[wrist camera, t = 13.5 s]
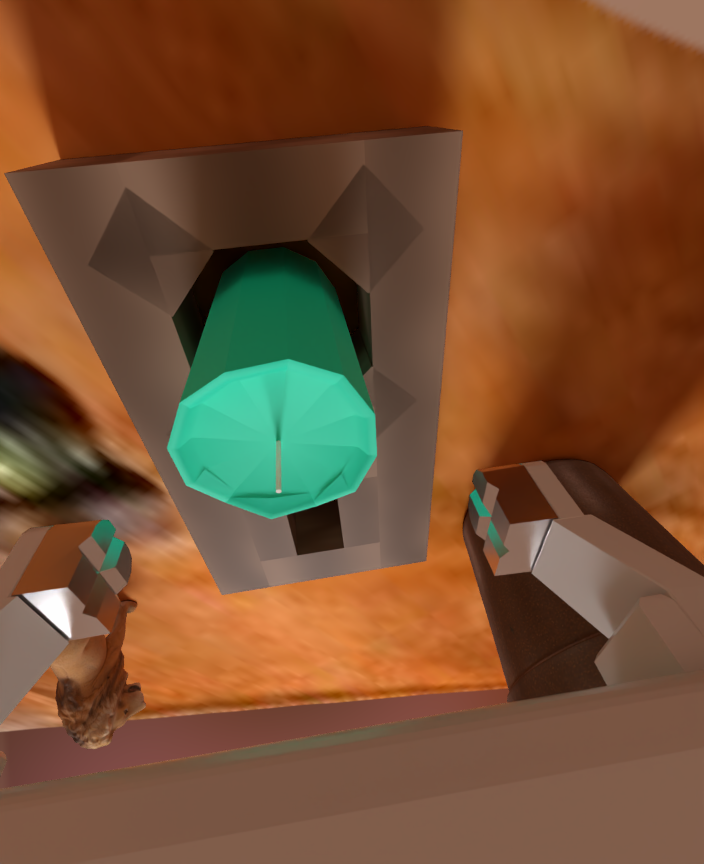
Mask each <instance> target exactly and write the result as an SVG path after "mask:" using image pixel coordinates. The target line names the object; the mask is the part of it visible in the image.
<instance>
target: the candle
mask: <svg viewBox="0 0 704 864" xmlns="http://www.w3.org/2000/svg"><path fill="white" fill-rule="evenodd" d="M167 450H168V452H169V454H170V456H171V457H172V459H173V461H174V463H175V465H176V467H177V469H178V471H179V473H180V475H181V477H182V479H183V481H184V483H185V484H186V486H188V487H191V488H193V489H195V490H197V491H200V492H202V493H204V494H207V495H209V496H211V497H213V498H216V499H218V500H220V501H223V502H225V503H228V504H230V505H233V506H236V507H239V508H241V509H244V510H247V511H250V512H252V513H255V514H258V515H261V516H263V517H266V518H269V519H274V518H278V517H281V516H285V515H288V514H292V513H295V512H298V511H302V510H305V509H309V508H312V507H316V506H319V505H321V504H324V503H327V502H329V501H332V500H335V499H337V498H340V497H343V496H345V495H348V494H351V493H353V492H356V490H357V488H358V487H359V485H360V483H361V482H362V480H363V478H364V477H365V475H366V473H367V472H368V470H369V468H370V467H371V465H372V463H373V462H374V460H375V458H376V457H377V443H376V421H375V413H374V409H373V406H372V403H371V400H370V397H369V394H368V390H367V387H366V384H365V381H364V378H363V375H362V371H361V368H360V365H359V362H358V359H357V356H356V352H355V349H354V346H353V343H352V340H351V337H350V333H349V330H348V327H347V324H346V321H345V318H344V314H343V311H342V308H341V305H340V302H339V299H338V295H337V292H336V289H335V287H334V286H333V285H332V283H331V282H330V281H329V279H328V278H327V276H326V275H325V274H324V272H323V271H322V269H321V268H320V267H319V265H318V264H317V262H316V261H314V260H311V259H309V258H307V257H305V256H303V255H300V254H298V253H296V252H294V251H291V250H289V249H287V248H285V247H278V248H270V249H261V250H252V251H248V252H247V253H245V254H244V255H243V256H242V257H241V258H239V259H238V260H237V261H236V262H235V263H233V264H232V265H231V266H230V267H228V268H227V269H226V270H225V271H224V272H223V273H222V276H221V279H220V282H219V285H218V288H217V291H216V294H215V297H214V300H213V303H212V306H211V309H210V312H209V315H208V318H207V321H206V324H205V327H204V330H203V333H202V336H201V339H200V342H199V345H198V348H197V351H196V354H195V357H194V361H193V364H192V367H191V370H190V373H189V376H188V379H187V382H186V385H185V388H184V391H183V394H182V397H181V400H180V403H179V406H178V410H177V414H176V417H175V421H174V424H173V428H172V432H171V435H170V439H169V442H168V446H167Z"/></svg>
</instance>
